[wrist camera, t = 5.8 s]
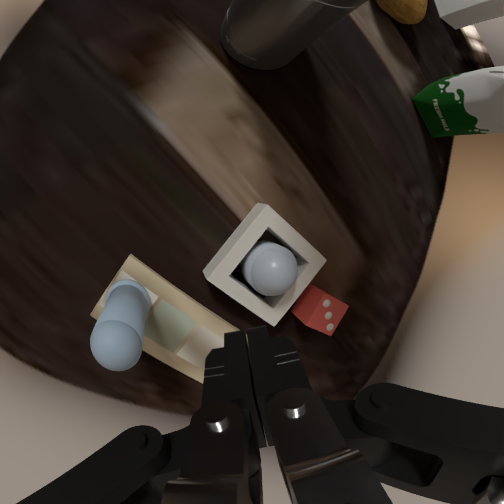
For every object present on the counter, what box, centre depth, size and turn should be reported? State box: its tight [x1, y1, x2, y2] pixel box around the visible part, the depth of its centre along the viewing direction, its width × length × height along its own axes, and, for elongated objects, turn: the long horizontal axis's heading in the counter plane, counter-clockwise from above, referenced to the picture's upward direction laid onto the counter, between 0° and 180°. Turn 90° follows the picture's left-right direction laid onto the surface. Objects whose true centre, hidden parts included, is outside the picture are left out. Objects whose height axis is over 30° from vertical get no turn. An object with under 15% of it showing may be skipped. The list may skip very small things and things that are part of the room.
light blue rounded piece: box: [240, 240, 298, 296], centre depth 28 cm, size 5×5×6 cm
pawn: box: [90, 279, 150, 371], centre depth 22 cm, size 5×5×11 cm
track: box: [91, 254, 248, 383], centre depth 30 cm, size 8×20×1 cm, turn 50°
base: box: [203, 203, 327, 326], centre depth 30 cm, size 9×9×3 cm
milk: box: [434, 0, 504, 30], centre depth 22 cm, size 6×6×22 cm
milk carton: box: [412, 66, 504, 138], centre depth 25 cm, size 9×9×20 cm
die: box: [291, 283, 349, 336], centre depth 32 cm, size 4×4×4 cm
